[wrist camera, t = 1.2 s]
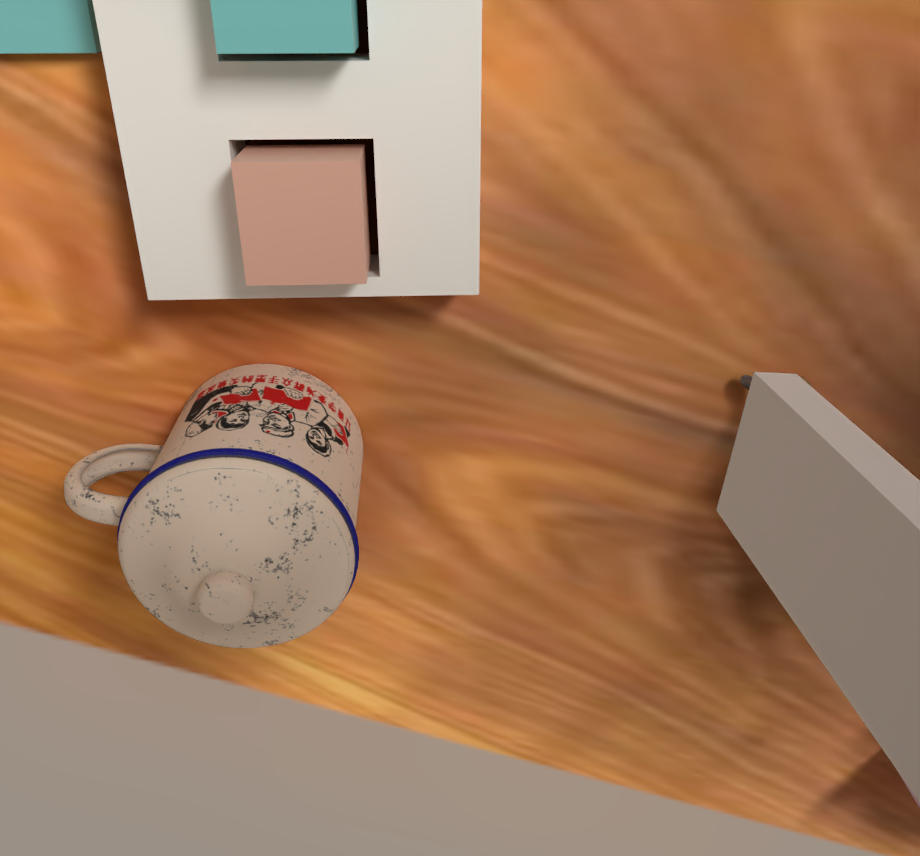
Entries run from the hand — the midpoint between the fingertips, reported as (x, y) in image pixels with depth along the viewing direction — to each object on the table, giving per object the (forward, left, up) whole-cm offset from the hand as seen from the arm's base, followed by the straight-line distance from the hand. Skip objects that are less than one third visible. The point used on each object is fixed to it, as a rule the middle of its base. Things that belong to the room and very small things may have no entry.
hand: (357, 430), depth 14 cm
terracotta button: (+3, +1, -21) cm, 21 cm away
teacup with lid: (+8, +13, -23) cm, 28 cm away
